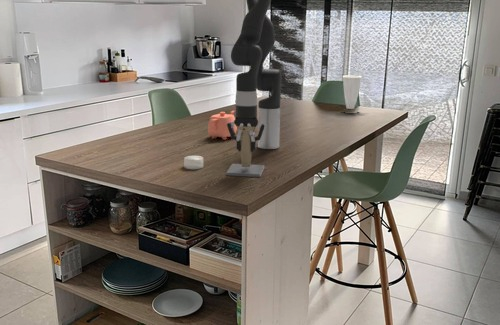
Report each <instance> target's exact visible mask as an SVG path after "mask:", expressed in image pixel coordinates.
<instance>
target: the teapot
mask: <svg viewBox="0 0 500 325" xmlns="http://www.w3.org/2000/svg"><path fill="white" fill-rule="evenodd" d="M235 113H236V109H235V110H232V111H230V113H228V114H227V113H226V112H225V111H220V112H219V113H216V114H213V115H211V116H210V118H209V121H208V125H207V133H208V136H211V139H217V137H218V138H221V140H222V139H223V140H224V141H227V140H228V138H230V137H231V136H230V133H229V130H228V127H227V124H228V123H229V122H234V120H235V118H236V116H235V115H234V114H235ZM233 129H234V132H235V135H236V133H238V129H237V126H236V125H235V124H234V127H233ZM226 139H227V140H226ZM223 140H222V141H223Z"/></svg>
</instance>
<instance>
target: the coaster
mask: <svg viewBox="0 0 500 325" xmlns="http://www.w3.org/2000/svg"><path fill="white" fill-rule="evenodd" d="M264 169H265V164H262V165H261V164H251V165H250V166H249V167H242V165H241V163H232V164H231V165H230V166H229V168H228V170H227V171H226V172H225V174H226V176H228V177H229V176H233V177H249V178H250V177H251V178H252V177H253V178H254V177H255V178H261V177H262V174H263V172H264Z"/></svg>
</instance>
